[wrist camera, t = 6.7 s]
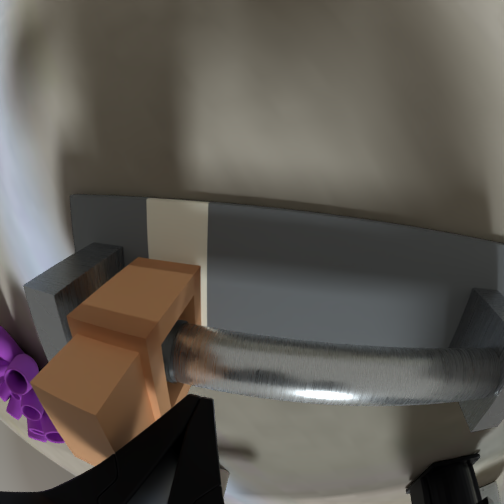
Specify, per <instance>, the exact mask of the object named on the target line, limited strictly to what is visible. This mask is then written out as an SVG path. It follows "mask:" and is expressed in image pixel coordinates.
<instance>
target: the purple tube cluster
mask: <svg viewBox="0 0 504 504" xmlns="http://www.w3.org/2000/svg"><path fill="white" fill-rule="evenodd" d="M38 373H39V369H38V366H37V364H36V362H35V360H34V359H33V358H32V357H30V356H29V355H27V354H25V353H24V352H23V351H22V349H21V348H20V347H19V346H18V344H17V343H16V342H15V340H14V339H13V338H12V337H11V336H10V335H9V334H8V332H7V331H6V330H5V329H4V328H3V327H2V326H0V397H1V399H2V400H3V401H4V402H5V401H7V400H8V399H9V398H10V400H9V403H8V406H7V412H8V413H9V414H10V415H11V416H13V417H14V418H16V419H17V420H19V419H20V417H21V416H22V414H23V415H24V416H25V417H26V418H27V423H28V436H29V437H30V438H33V439H35V440H39V441H42V442H46V441H47V440H49V441H51V442H54V443H64V442H65V441H64V440H63V438H62V437H61V435H60V434H59V432H58V431H57V429H56V428H55V426H54V425H53V423H52V421H51V420H50V418H49V416H48V415H47V413H46V411H45V410H44V408H43V406H42V404H41V403H40V401H39V399H38V397H37V395H36V394H35V392H34V390H33V388H32V386H31V384H30V382H31V380H32V379H33V378H34V377H35V376H36V375H37V374H38Z"/></svg>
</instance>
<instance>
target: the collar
mask: <svg viewBox="0 0 504 504" xmlns="http://www.w3.org/2000/svg"><path fill="white" fill-rule="evenodd" d="M66 317H67V320H68V324H69V328H70V331H71V334H72V339H71V340H70V341H69V342H68V343H67V344H66V345H65V346H64V347H63V348H62V349H61V350H60V351H59V352H58V353H57V354H56V355H55V356H54V357H53V358H52V359H51V360H50V361H49V363H48V364H47V365H46V366H45V367H44V368H43V369H42V370H41V371H40V372H39V373H38V374H37V375H36V376H35V377H34V378H33V379H32V380H31V382H30V384H31V386H32V388H33V390H34V392H35V394H36V395H37V397H38V399H39V401H40V403H41V404H42V406H43V408H44V410H45V411H46V413H47V415H48V416H49V418H50V420H51V421H52V423H53V425H54V426H55V428H56V429H57V431H58V432H59V434H60V435H61V437H62V438H63V440H64V441H65V443H66V444H67V446H68V447H69V449H70V450H71V451H72V453H73V454H74V456H75V457H77V458H79V459H81V460H83V461H85V462H87V463H89V464H91V465H93V466H96V465H98V464H99V463H101V462H102V461H104V460H105V459H107V458H108V457H109V456H111V455H112V454H115V452H116V451H118V450H119V449H120V448H122V447H123V446H124V445H126V444H127V443H128V442H129V441H131V440H132V439H133V438H135V437H136V436H137V435H139V434H140V433H141V432H142V431H144V430H145V429H146V428H147V427H149V426H150V425H151V424H152V423H154V422H155V421H156V420H157V419H159V418H160V417H161V416H162V415H164V414H165V413H166V412H167V411H169V410H170V409H171V408H172V407H173V406H175V405H176V404H177V403H178V402H179V401H181V400H182V399H183V398H184V397H185V396H187V393H188V391H189V389H190V387H191V385H188V384H184V383H179V382H177V383H171V382H167V381H166V375H165V369H164V362H163V355H162V348H161V344H162V343H163V341H164V340H165V338H166V337H167V335H168V334H169V332H170V331H171V329H172V327H173V326H174V324H175V323H176V321H177V320H178V319H180V320H185V321H187V322H188V323H190V324H196V325H201V266H198V265H191V264H183V263H176V262H169V261H162V260H155V259H148V258H141V257H138V258H136V259H135V260H134V261H132V262H131V263H130V264H129V265H127V266H126V267H125V268H124V269H122V270H121V271H120V272H119V273H117V274H116V275H115V276H114V277H112V278H111V279H110V280H109V281H107V282H106V283H105V284H104V285H103V286H101V287H100V288H99V289H98V290H96V291H95V292H94V293H93V294H92V295H90V296H89V297H88V298H87V299H86V300H85V301H83V302H82V303H81V304H80V305H79V306H77V307H76V308H75V309H74V310H73V311H72V312H70V313H69V314H68V315H67V316H66Z"/></svg>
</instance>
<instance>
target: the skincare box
mask: <svg viewBox="0 0 504 504" xmlns="http://www.w3.org/2000/svg"><path fill="white" fill-rule="evenodd" d="M479 489H480V493H481V497H482V500H483V499H484V498H485V497H487V496H488V497H489V498H490V499H492V500H493V503H494V504H501V500H500V496H499V491H498V487H497V483H496V481H495V482H493V483H491V484H488V485H486V486H484V487H481V488H479Z"/></svg>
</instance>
